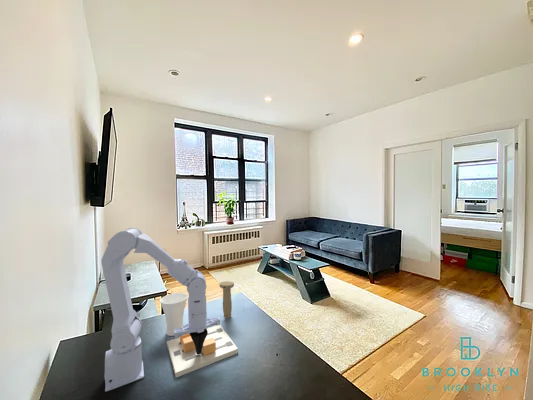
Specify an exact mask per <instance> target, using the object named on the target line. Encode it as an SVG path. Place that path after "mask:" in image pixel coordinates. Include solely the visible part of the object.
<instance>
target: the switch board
mask: <svg viewBox="0 0 533 400" xmlns="http://www.w3.org/2000/svg"><path fill="white" fill-rule="evenodd" d="M207 331H208V334H207V336H206V338H205V340H206V339H209V338H212V337H213V339H214V340H215V342H216V351H215V352H212V353H210V354H207V355H203V353H202V352H201V354H198V355H197V353H196V349H194V350H191V351H188V352H185V353H184V350H183V345H181V342H180V337H179V338H177V339H175V338H173V339H170V340H167V341H166V346H167V349H168V353H169V358H170V361H171V365H172V369H173V373H174V377H175V378H176V379H177V378H179V377H181V376H184V375H186V374H189V373H191V372H193V371H194V372H195V371H196V370H199V369H201V368H204V367H206V366H207V367H208V366H209V365H211V364H214V363H216V362H218V361H221V360H223V359H227V358H228V357H231V356H233V355H236V354H238V353H239V349H238V347H237V345H236V344H235V343H234V342H233V340H232V339H231V337H230V336H229V335H228V334H227V332H226V330H224V328H223V327H222V325H221V324H220V325H218V326H217V325H215V326H211V327H208V328H207Z"/></svg>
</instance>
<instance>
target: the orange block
mask: <svg viewBox="0 0 533 400" xmlns="http://www.w3.org/2000/svg"><path fill="white" fill-rule="evenodd" d="M215 351H216V342H215V340H214V339H213V337H212V338H209V339H206V340H205V341H204V343H203V347H202V353H203V355H207V354H210V353H212V352H215Z"/></svg>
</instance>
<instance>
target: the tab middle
mask: <svg viewBox="0 0 533 400" xmlns="http://www.w3.org/2000/svg"><path fill="white" fill-rule="evenodd" d="M182 345H183V350H184V353H185V352H188V351H191V350H194V349H195V345H194V342H193V340H192V338H191V336H190V337H187V338H184V339H182Z"/></svg>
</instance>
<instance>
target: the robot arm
mask: <svg viewBox="0 0 533 400" xmlns="http://www.w3.org/2000/svg"><path fill="white" fill-rule="evenodd" d="M133 250H134V251H133ZM131 251H133V253H134V254H147V255H149V256H150V257H151V258H153V259H154V260H156V261H157V262H158V263H159V264H161V265H163V266H164V267H166V268H167V275H169V276H170V277H172V278H173V279H174V280H176V281H177V282H178V283H180V285H183V286H185V287H186V291H187V293H188V298H187V307H188V308H187V310H188V317H187V318H188V323H187V324H184V325H183V327H181V328H178V329H176V330H174V336H173V337H174V339H177V338H179V337H180V336H183V335H186V334H190V336H191V338H192V340H193V342H194V345H195V349H196V353H197V355H198V354H201V352H202V347H203V343H204V341H205V338H206V336H207V334H208V331H207V329H208V328H211V327H214V326H218V325H221V318H220V317H219V316H217V317H210V318H207V313H208V312H207V295H206V294H207V293H206V292H207V290H206V289H207V282H206V277H205V274H203V272H201V271H199V270H198V269H195V268H194V267H192V266H191V265H190V264H188V263H189V262H188V260H187V259H182V258H174V257H173V256H172V255H171V254H169V252H167V251H166V250H164V248H163V247H161V246H160V245H159V244H158V243H157V242H155V240H154V239H152V238H151V237H150V236H149V235H147V234H146V233H144V232H142V231H141V230H140V229H139V228H136V227H129V228H126V229H124V230H121V231H119V232H117V233H115V234H114V235H112V237H110V239H109V240H108V241H107V246H106V248H105V250H104V253H103V255H102V257H101V259H100V260H101V262H100V263H101V267H102V272H103V277H104V282H105V285H106V290H107V296H108V300H109V305H110V309H111V314H112V318H113V320H112V326H111V330H110V331H111V339H110V349H109V350H106V351H105V356H104V383H105V384H104V385H105V388H104V392H109V391H112V390H115V389H117V388H120V387H123V386H125V385H128V384H130V383H133V382H137V381H138V380H141V379H143V378H144V377H145V372H144V369H145V368H144V362H143V360H142V359H143V357H142V356H143V355H142V351H143V350H142V338H141V337H140V332H141V330H142V328H143V322H142V320H141V319H140V318H139V316H138V313H137V311H136V310H135V309H134V308H133V303H132V297H131V293H130V289H129V283H128V279H127V274H126V270H125V265H124V260H125V259H126V258H127V256H128V255H129V254H130V253H131Z"/></svg>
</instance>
